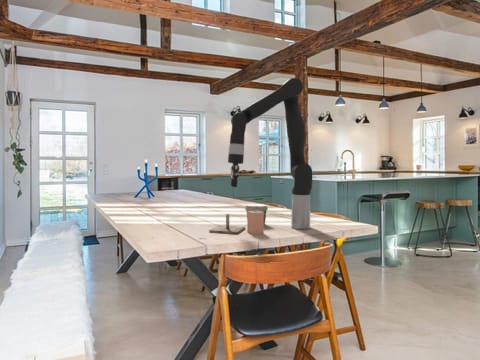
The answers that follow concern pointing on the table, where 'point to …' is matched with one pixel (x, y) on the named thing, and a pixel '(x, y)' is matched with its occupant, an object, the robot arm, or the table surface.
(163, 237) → the table surface
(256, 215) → the salmon pink block
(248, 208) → the food container
